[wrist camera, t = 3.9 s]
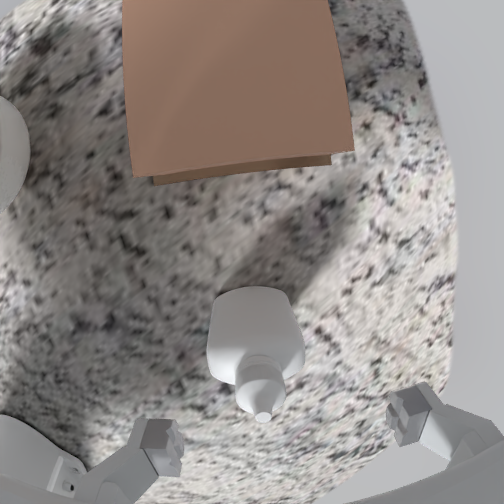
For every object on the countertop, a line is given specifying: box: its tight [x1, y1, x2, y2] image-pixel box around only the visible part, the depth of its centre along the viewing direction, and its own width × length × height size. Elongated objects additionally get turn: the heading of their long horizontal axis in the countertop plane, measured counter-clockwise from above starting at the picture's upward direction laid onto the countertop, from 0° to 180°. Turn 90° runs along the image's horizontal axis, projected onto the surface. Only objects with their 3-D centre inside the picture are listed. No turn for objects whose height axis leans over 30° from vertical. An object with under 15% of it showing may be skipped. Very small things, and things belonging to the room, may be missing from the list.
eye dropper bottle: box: [207, 286, 305, 423], centre depth 18 cm, size 4×6×12 cm
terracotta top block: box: [122, 0, 355, 178], centre depth 13 cm, size 9×9×5 cm
